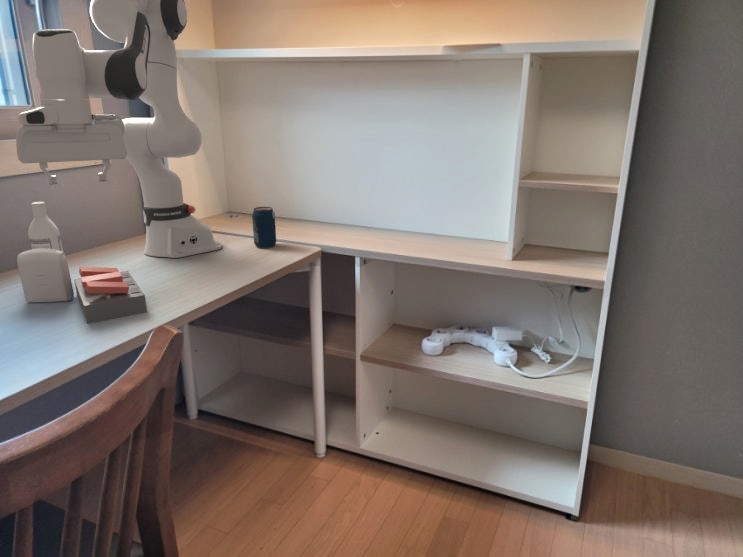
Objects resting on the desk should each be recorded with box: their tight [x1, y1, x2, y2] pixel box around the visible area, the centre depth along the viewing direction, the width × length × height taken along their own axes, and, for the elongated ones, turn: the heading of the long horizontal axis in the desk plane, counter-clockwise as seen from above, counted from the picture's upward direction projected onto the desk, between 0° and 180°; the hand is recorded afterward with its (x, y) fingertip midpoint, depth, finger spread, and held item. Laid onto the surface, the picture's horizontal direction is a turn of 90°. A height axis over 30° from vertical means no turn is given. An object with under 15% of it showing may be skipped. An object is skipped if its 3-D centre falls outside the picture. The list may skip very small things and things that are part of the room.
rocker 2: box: [80, 271, 123, 288], centre depth 123 cm, size 8×4×1 cm, turn 123°
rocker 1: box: [78, 266, 120, 278], centre depth 128 cm, size 8×4×1 cm, turn 123°
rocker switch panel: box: [73, 270, 148, 324], centre depth 125 cm, size 12×20×5 cm, turn 33°
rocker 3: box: [85, 281, 129, 293], centre depth 119 cm, size 8×4×1 cm, turn 123°
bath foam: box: [27, 201, 64, 252], centre depth 138 cm, size 7×7×20 cm
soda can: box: [251, 206, 277, 249], centre depth 170 cm, size 7×7×12 cm
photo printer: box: [16, 248, 75, 303], centre depth 125 cm, size 10×4×12 cm, turn 95°
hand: (78, 182), depth 116 cm, fingers open, 8 cm apart
